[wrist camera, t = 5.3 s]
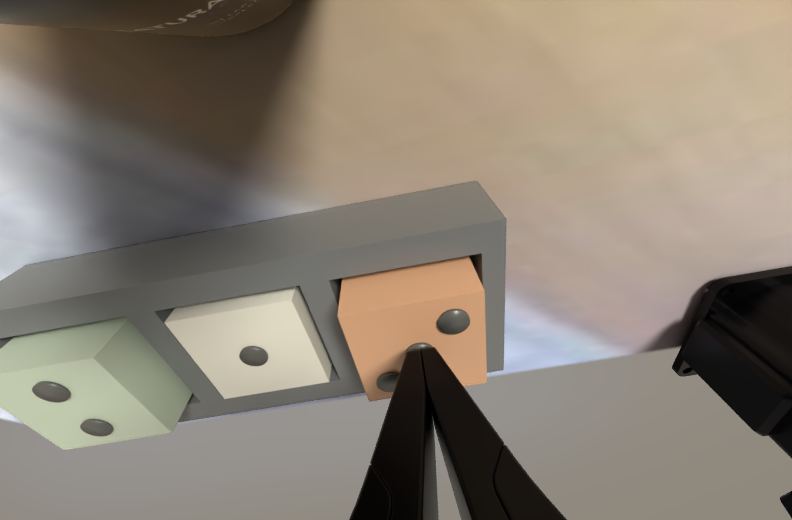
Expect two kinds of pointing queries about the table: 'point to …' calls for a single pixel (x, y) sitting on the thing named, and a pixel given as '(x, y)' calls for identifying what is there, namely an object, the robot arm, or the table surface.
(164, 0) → the supplement bottle
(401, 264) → the grey tile tray
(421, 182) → the table surface
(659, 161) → the table surface
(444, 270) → the tile three dots
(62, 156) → the table surface
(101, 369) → the tile two dots
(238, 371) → the tile one dot
